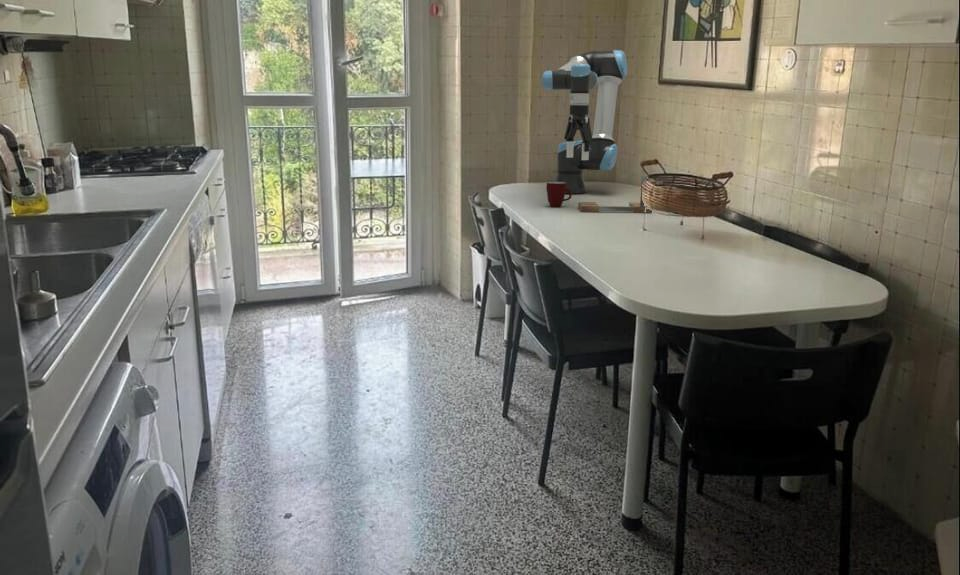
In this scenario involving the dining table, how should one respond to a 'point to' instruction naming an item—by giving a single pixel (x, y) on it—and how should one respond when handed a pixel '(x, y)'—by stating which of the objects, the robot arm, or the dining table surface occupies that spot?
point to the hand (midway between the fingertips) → (577, 158)
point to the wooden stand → (632, 206)
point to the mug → (557, 193)
